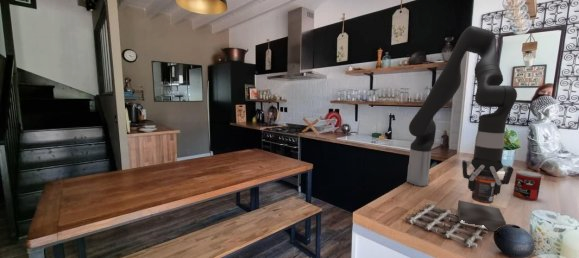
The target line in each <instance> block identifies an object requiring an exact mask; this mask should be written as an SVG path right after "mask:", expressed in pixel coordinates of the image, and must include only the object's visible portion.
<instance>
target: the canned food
mask: <svg viewBox="0 0 579 258" xmlns="http://www.w3.org/2000/svg"><path fill="white" fill-rule="evenodd" d="M514 179H515V180H514V187H513V197H516V198H519V199H521V200H527V201H537V200H538V198H539V194H540V188H541V182H542V175H541V174H540V173H538V172H532V171H527V170H517V171H516V173H515V178H514Z"/></svg>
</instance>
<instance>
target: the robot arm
mask: <svg viewBox="0 0 579 258" xmlns="http://www.w3.org/2000/svg"><path fill="white" fill-rule="evenodd" d="M467 52H468V53H472V54H476V55H478V56H479V58H480V59H479V60H478V61H477V62H476V65H475V67H474V75H475V79H476V92H475V96H474V97H475V98H474V101H475V103H476V104H477V105H478V106H480V107H485V108H491V107H492V108H496V110H494V112H492V113H484V114H481V115H480V116H479V118H478V124H477V133H476V137H475V142H474V143H475V144H474V152H473V158H472V159H471V160H465V159H463V160H462V161H461V169H462V177H463V179H467V180H468V184H467V188H468V190H470V192H472V191H473V186H474V179H475V177H476V176H478V174H479V173H480V172H481V171H482V170H488V171H491V172H492V175H493V177H494V179H495V181H496V183H495V191H494V196H498V195H500V194H501V189H502V188H501V187H502V186H503V185H509V183H510V181H511V178H512V175H513V172H514V168H513V166H512V165H505V164H503V153H504V146H505V130H506V125H507V124H506V123H507V119H508V117H509V115H510V112H511V111H512V108H513V107H514V104H515V103H516V101H517V98H518V93H517V90H516V88H515V87H514V86H512V85H502V83H503V82H504V76H503V73H502V71H501V67H500V65H499V61H498V47H497V37H496V34H495V33H494V31H491V30H489V29H485V28H481V27H478V26H475V25H470V26H468V27H466V28H465V29H464V31H463V32H462V33H461V35H460V36H459V37H458V39H457V41H456V44H455V45H454V48H453V50H452V52H451V54H450V56H449V59H448V61H447V63H446V64H445V66H444V67H443V69H442V71H441V73H440V74H439V76H438V77H437V79H436V81H435V82H434V84H433V86H432V88H431V89H430V91H429V94H428V95H427V97H426V98H425V100H424V102H423V103H422V105H421V107H420V108H419V110H418V111H417V112H416V114H415V115H414V116H413V117H412V119H411V120H410V123H409V125H408V131H409V133H410V134H411V136H413V137H415V139H414V140H413V141H412V142H411V143H410V149H409V158H408V159H409V160H408V166H407V176H406V183H407V182H409V183H408V184H411V185H413V184H414V186H418V187H420V186H421V187H424V186H428V185H429V176H430V168H431V167H430V166H431V159H432V158H431V157H432V148H433V146H434V143H435V140H436V139H435V138H436V132H437V131H436V130H437V125H436V123H435V121H434V119H433V118H434V117H435V116H436V114H437V113H438V112H439V111H440V110H441V109H442V108H443V107H445V106H446V105H447V104H448V103H449V102H450V101H451V100H452V99H453V98H454V96H455V94H456V93H457V91H458V89H459V88H460V86H461V83H462V74H461V73H462V71H461V69H462V67H461V65H462V61H463V58H464V56H465V54H466V53H467ZM470 165H471V166H472V167H473V168H474V169H473V170H472V171H471V173H470V174H468V168H469V167H470ZM501 169H503V171H504V175H503V178H502V179H501V178H500V177H499V175H498V172H499V171H500V170H501Z"/></svg>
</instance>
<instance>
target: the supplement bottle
mask: <svg viewBox="0 0 579 258" xmlns="http://www.w3.org/2000/svg"><path fill="white" fill-rule="evenodd" d="M495 183H496V181H495V179H494V177H493V175H492V172H491V171H488V170H482V171H481V172H480V173H479V174H478V176H476V177H475V179H474V186H473V191H471V199H472V200H474V201H475V202H478V203H479V204H488V205H491V204H493V203H494V197H495V195H494V191H495Z"/></svg>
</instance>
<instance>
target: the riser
mask: <svg viewBox="0 0 579 258" xmlns="http://www.w3.org/2000/svg"><path fill="white" fill-rule="evenodd" d="M457 201H458V202H457V203H458V204H457V217H458V216H459V220H458V222H459V221H461V220H463V221H465V223H468V224H475V225H484V226H485V227H486V228H487V229H488V230H487V231H489V230H490V231H489V232H493V233H495V232H494V231H495V230H496V229H497V228H498V227H500V226H503V225H505V226H506V224H507V223H506V222H507V221H506V219H505V218H504V216H503V214H502V212H501V209H500V208H499V207H494V206H489V205H484V204H481V203H475V202H469V201H465V200H457Z"/></svg>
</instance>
